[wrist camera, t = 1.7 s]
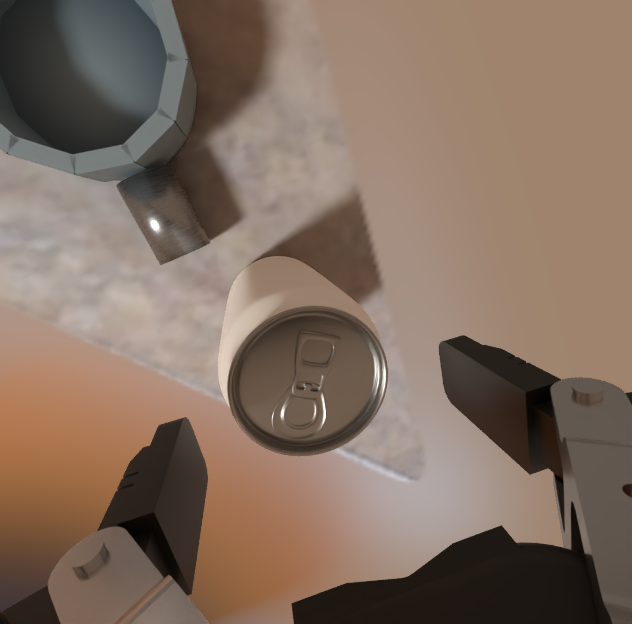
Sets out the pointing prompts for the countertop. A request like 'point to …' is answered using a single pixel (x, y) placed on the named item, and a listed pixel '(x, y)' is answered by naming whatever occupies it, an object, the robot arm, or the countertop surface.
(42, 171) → the countertop surface
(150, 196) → the shaft
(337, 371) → the can
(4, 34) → the collar
